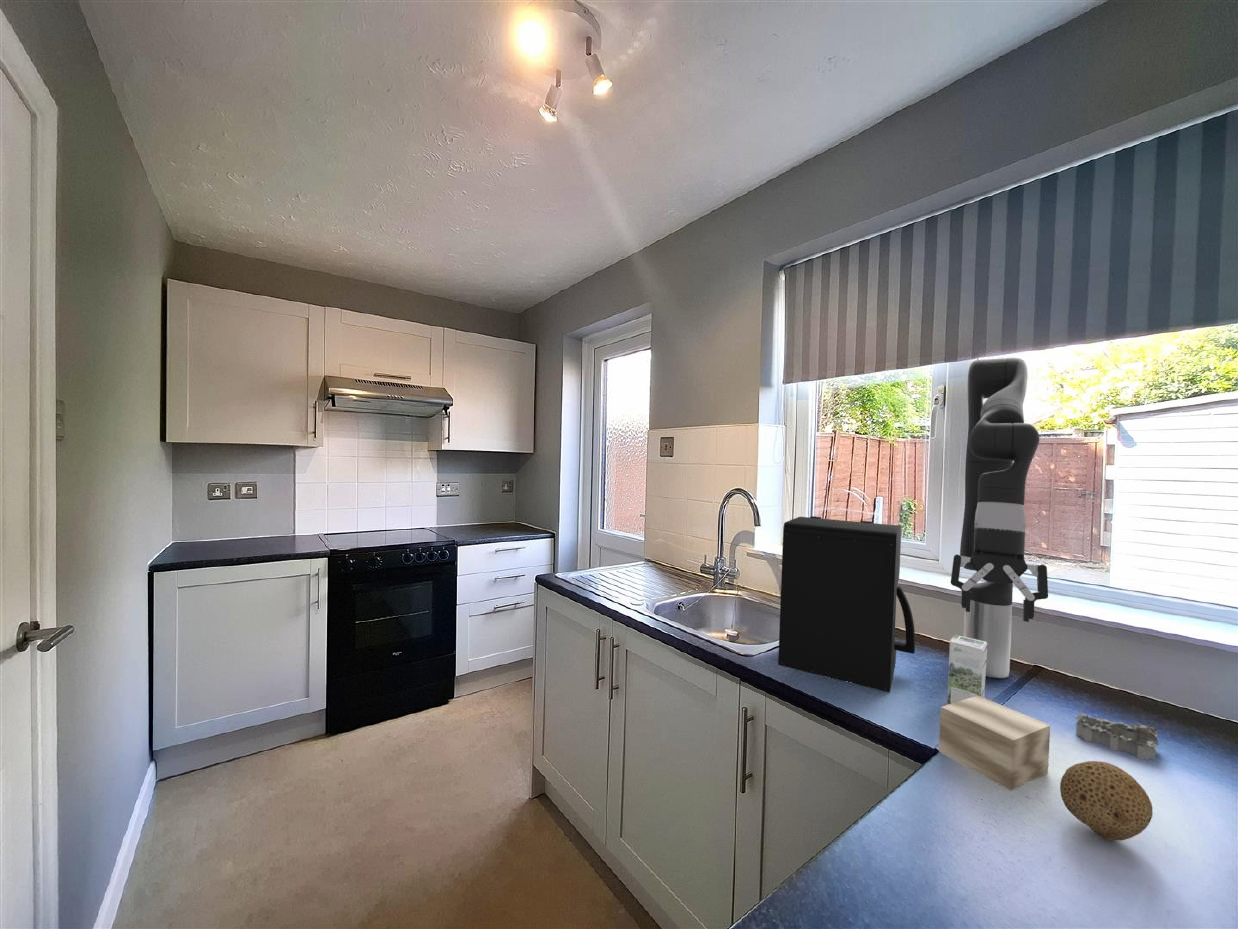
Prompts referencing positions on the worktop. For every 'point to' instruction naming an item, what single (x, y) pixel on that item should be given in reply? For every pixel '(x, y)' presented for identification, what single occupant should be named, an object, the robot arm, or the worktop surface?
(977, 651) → the syrup box
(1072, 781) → the natural sponge
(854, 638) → the coffee maker
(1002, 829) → the worktop surface
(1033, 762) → the wooden block
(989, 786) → the worktop surface
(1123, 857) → the worktop surface
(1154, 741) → the egg carton
